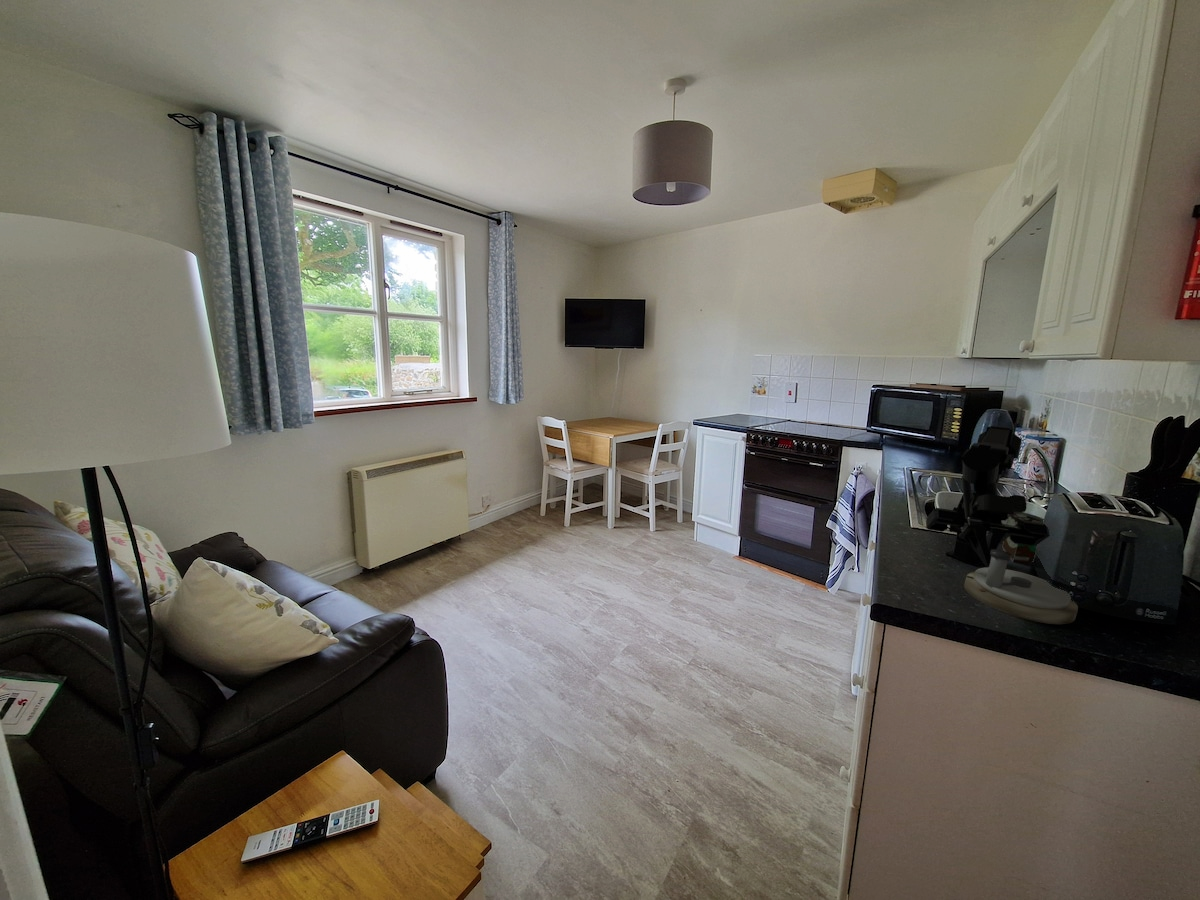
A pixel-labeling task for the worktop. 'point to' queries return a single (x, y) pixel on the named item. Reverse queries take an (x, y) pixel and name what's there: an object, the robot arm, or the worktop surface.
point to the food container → (1017, 550)
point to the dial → (1019, 584)
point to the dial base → (1020, 606)
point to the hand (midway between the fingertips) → (988, 565)
